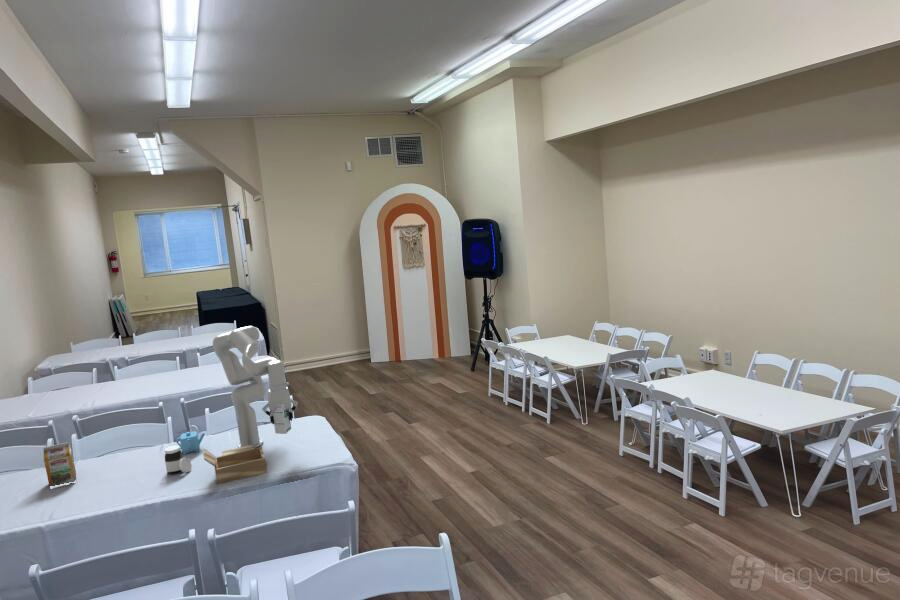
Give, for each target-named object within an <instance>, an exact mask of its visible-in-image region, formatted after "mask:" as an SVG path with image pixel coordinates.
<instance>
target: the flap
mask: <svg viewBox="0 0 900 600" xmlns="http://www.w3.org/2000/svg"><path fill="white" fill-rule="evenodd" d="M216 457H217V456H215V455H214V454H213V453H211V452H210V451H208V450H206V449H205V448H203V460H204V461H206V462H207V463H208V464H210V465H212V466H213V467H214V468H215V467H217V465H216Z"/></svg>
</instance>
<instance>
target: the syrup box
mask: <svg viewBox="0 0 900 600" xmlns="http://www.w3.org/2000/svg"><path fill="white" fill-rule="evenodd" d="M273 418H274V424H273V425H274V432H275V434H278V435H279V434H282V435H283V434H285V435H286V434H287V433H289V432H290V431H291V430H292V423H291V420H290V415H289V410H288V409H285V406H284V404H280V405H278V406H277V411H274V413H273Z"/></svg>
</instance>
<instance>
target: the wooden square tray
mask: <svg viewBox="0 0 900 600" xmlns="http://www.w3.org/2000/svg"><path fill="white" fill-rule="evenodd" d="M221 454H222V455H219V456H216V465H217V467H214V473H215V477H216V478H215V479H216V485H221V484H225V483H230V482H234V481H239V480H242V479H243V480H244V479H247V478H251V477H256V476H261V475H263V474H268V467H267V460H266V456H265V453H264V450H263V447H262V446H259V447H257V448H254V449H253V447H252V445H249V446H245V447H240V448H238V447H237V448H236V447H235V448H231V449H228V450H223V451H221Z"/></svg>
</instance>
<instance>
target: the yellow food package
mask: <svg viewBox="0 0 900 600" xmlns="http://www.w3.org/2000/svg"><path fill="white" fill-rule="evenodd" d="M42 449H43V462H44V467H45V472H46V477H47V480H48V486H49V488H50V486H55V485H60V484H64V483H69V482H74V481H75V480H76V481H77V477H76V475H77V471H76V466H75V461H74V456H73V449H72V447H71V445H70V442H63V443H59V444H53V445H50V446H44V447H43V448H42Z"/></svg>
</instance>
